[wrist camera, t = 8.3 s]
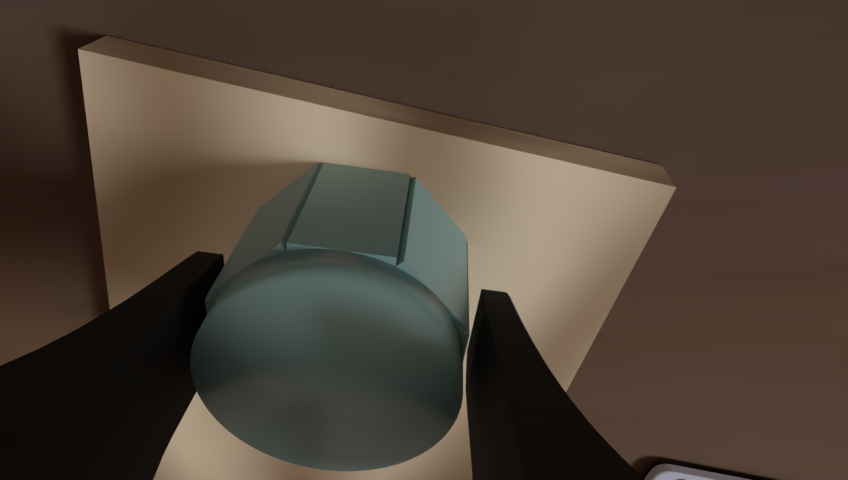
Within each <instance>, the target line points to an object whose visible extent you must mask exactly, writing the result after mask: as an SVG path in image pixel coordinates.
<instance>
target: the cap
mask: <svg viewBox="0 0 848 480" xmlns="http://www.w3.org/2000/svg"><path fill="white" fill-rule="evenodd" d="M409 180H410V174H404V173H397V172H390V171H383V170H376V169H369V168H362V167H354V166H347V165H340V164H333V163H326V162H324V163H323V166H322V168H321V167H320V166H319V165H318V164H317V165H315V166H314V167H313V168H311V169H310V170H309V171H307V172H306V173H305V174H303V175H302V176H301V177H299V178H298V179H297V180H295V181H294V182H293V183H291V184H290V185H289V186H287V187H286V188H285V189H283V190H282V191H281V192H279V193H278V194H276V195H275V196H274V197H272V198H271V199H270V200H268V201H267V202H266V203H264V204H263V205H262V206H260V207H259V208H258V210H257V211H256V213H255V215H254V217H253V218H252V220H251V222H250V223H249V225H248V227H247V228H246V230H245V232H244V233H243V235H242V237H241V238H240V240H239V242H238V243H237V245H236V247H235V249H234V250H233V252H232V254H231V255H230V257H229V259H228V260H227V262H226V264H225V265H224V267H223V269H222V270H221V272H220V274H219V275H218V277H217V279H216V281H215V282H214V284H213V286H212V287H211V289H210V291H209V292H208V295H207V297H206V298H205V305H206V313H207V316H206V318H205V319H204V321H203V323H202V325H201V327H200V328H199V330H198V332H197V334H196V336H195V339H194V342H193V344H192V348H191V355H190V368H191V375H192V379H193V383H194V386H195V388H196V390H197V393H198V395H199V397H200V399H201V400H202V402H203V403H204V405H205V407H206V408H207V409H208V411H209V412H210V413H211V414H212V415H213V417H214V418H215V419H216V420H217V421H218V422H219V423H220V424H221V425H222V426H223V427H224V428H225V429H227V430H228V431H229V432H230V433H232V434H233V435H234V436H235V437H237V438H238V439H240V440H241V441H243V442H245V443H246V444H248V445H249V446H251V447H253V448H255V449H257V450H259V451H261V452H263V453H265V454H267V455H270V456H272V457H274V458H277V459H280V460H283V461H286V462H289V463H292V464H296V465H300V466H304V467H308V468H314V469H320V470H329V471H366V470H374V469H380V468H385V467H389V466H393V465H397V464H400V463H403V462H405V461H408V460H411V459H413V458H415V457H417V456H419V455H421V454H423V453H424V452H426V451H427V450H429V449H430V448H432V447H433V446H435V445H436V444H437V443H438V442H439V441H440V440H441V439H442V438H444V436H445V435H446V434H447V433H448V432H449V430H450V429H451V428H452V426H453V424H454V423H455V421H456V419H457V417H458V415H459V412H460V409H461V406H462V399H463V360H464V356H465V352H466V348H467V343H468V339H469V335H470V330H469V282H468V241H466V235H465V234H464V233H463V232H462V231H461V230H460V228H459V227H458V226H457V225H456V224H455V223H454V221H453V220H452V219H451V218H450V217H449V216H448V214H447V213H446V212H445V211H444V210H443V208H442V207H441V206H440V205H439V204H438V203H437V201H436V200H435V199H434V198H433V197H432V196H431V194H430V193H429V192H428V191H427V190H426V188H425V187H424V186H423V185H422V184H421V183H420V181H419V180H418V179H417V178H415V179H413V180H412V181H410V182H409Z"/></svg>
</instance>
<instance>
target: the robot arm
mask: <svg viewBox="0 0 848 480" xmlns="http://www.w3.org/2000/svg"><path fill="white" fill-rule="evenodd" d="M223 267H224V257H223V254H217V253H209V252H202V251H197V252H195V253H194V254H192V255H191V256H189V257H188V258H186V259H185V260H183V261H182V262H180V263H179V264H178V265H176V266H175V267H173V268H172V269H171V270H169V271H168V272H166V273H165V274H163V275H162V276H161V277H159V278H158V279H156V280H155V281H153V282H152V283H150V284H149V285H147V286H146V287H144V288H143V289H141V290H140V291H139V292H137V293H136V294H134V295H133V296H131V297H130V298H128V299H127V300H125V301H123V302H122V303H120V304H118V305H117V306H115V307H113V308H112V309H110V310H109V311H107V312H105V313H104V314H102V315H100V316H99V317H97V318H96V319H94V320H92V321H91V322H89V323H87V324H85V325H84V326H82V327H80V328H78V329H76V330H75V331H73V332H71V333H69V334H67V335H65V336H63V337H61V338H59V339H57V340H55V341H53V342H52V343H50V344H48V345H46V346H44V347H42V348H39V349H37V350H35V351H33V352H31V353H29V354H26V355H24V356H22V357H20V358H17V359H15V360H13V361H10V362H8V363H6V364H4V365H1V366H0V480H153V479H154V477H155V474H156V472H157V469H158V467H159V464H160V462H161V460H162V457H163V455H164V453H165V451H166V449H167V446H168V444H169V442H170V440H171V438H172V436H173V434H174V433H175V431H176V429H177V427H178V425H179V423H180V421H181V420H182V418H183V416H184V414H185V412H186V410H187V409H188V407H189V405H190V403H191V401H192V399H193V397H194V396H195V394H196V392H197V390H196V388H195V386H194V383H193V379H192V375H191V368H190V355H191V348H192V344H193V342H194V339H195V336H196V334H197V332H198V330H199V328H200V327H201V325H202V323H203V321H204V319H205V318H206V316H207V313H206V305H205V298H206V297H207V295H208V292H209V291H210V289H211V287H212V286H213V284H214V282H215V281H216V279H217V277H218V275H219V274H220V272H221V270H222V269H223ZM466 403H467V415H468V428H469V440H470V452H471V465H472V480H751V479H746V478H740V477H735V476H730V475H725V474H719V473H714V472H709V471H704V470H698V469H693V468H688V467H683V466H678V465H672V464H659V465H657V466H655V467H654V468H652V469H651V471H650V472H649V473H648V475H647V476H646V477H645V479H644V478H643V477H642V476H641V475H640V474H638V473H637V472H636V471H635V470H634V469H633V468H632V467H631V466H630V465H629V464H628V463H627V462H626V461H625V460H624V459H623V458H622V457H621V456H620V455H619V454H618V453H617V452H616V451H615V450H614V449H613V448H612V447H611V446H610V445H609V444H608V443H607V442H606V440H605V439H604V438H603V437H602V436H601V435H600V434H599V433H598V432H597V431H596V430H595V429H594V427H593V426H592V425H591V424H590V423H589V422H588V421H587V419H586V418H585V417H584V416H583V414H582V413H581V412H580V411H579V409H578V408H577V407H576V406H575V404H574V403H573V402H572V400H571V399H570V398H569V396H568V395H567V394H566V392H565V391H564V389H563V388H562V387H561V385H560V384H559V382H558V381H557V379H556V378H555V376H554V375H553V373H552V372H551V370H550V369H549V367H548V366H547V364H546V362H545V361H544V359H543V357H542V356H541V354H540V352H539V351H538V349H537V347H536V346H535V344H534V342H533V341H532V339H531V337H530V335H529V333H528V332H527V330H526V328H525V326H524V324H523V322H522V320H521V318H520V316H519V314H518V312H517V310H516V308H515V306H514V304H513V302H512V300H511V297H510V296H509V295H508V293H507V292H501V291H494V290H486V289H481V293H480V297H479V301H478V306H477V310H476V314H475V319H474V323H473V327H472V331H471V336H470V340H469V344H468V348H467V361H466Z"/></svg>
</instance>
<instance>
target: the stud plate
mask: <svg viewBox="0 0 848 480" xmlns="http://www.w3.org/2000/svg"><path fill="white" fill-rule="evenodd" d="M78 54H79V62H80V70H81V79H82V87H83V95H84V103H85V111H86V119H87V128H88V136H89V144H90V152H91V160H92V168H93V177H94V185H95V193H96V201H97V209H98V217H99V225H100V234H101V242H102V250H103V258H104V266H105V274H106V283H107V291H108V299H109V307H110V309H112V308H113V307H115V306H117V305H118V304H120V303H122V302H123V301H125V300H127V299H128V298H130V297H131V296H133V295H134V294H136V293H137V292H139V291H140V290H141V289H143V288H144V287H146V286H147V285H149V284H150V283H152V282H153V281H155V280H156V279H158V278H159V277H161V276H162V275H163V274H165V273H166V272H168V271H169V270H171V269H172V268H173V267H175V266H176V265H178V264H179V263H180V262H182V261H183V260H185V259H186V258H188V257H189V256H191V255H192V254H194V253H195V252H197V251H202V252H209V253H217V254H223V257H224V265H225V264H226V262H227V260H228V259H229V257H230V255H231V254H232V252H233V250H234V249H235V247H236V245H237V243H238V242H239V240H240V238H241V237H242V235H243V233H244V232H245V230H246V228H247V227H248V225H249V223H250V222H251V220H252V218H253V217H254V215H255V213H256V211H257V210H258V208H259V207H260V206H262V205H263V204H264V203H266V202H267V201H268V200H270V199H271V198H272V197H274V196H275V195H276V194H278V193H279V192H281V191H282V190H283V189H285V188H286V187H287V186H289V185H290V184H291V183H293V182H294V181H295V180H297V179H298V178H299V177H301V176H302V175H303V174H305V173H306V172H307V171H309V170H310V169H311V168H313V167H314V166H315V165H317V164H318V165H319V166H320V167H321V168H322V166H323V163H324V162H326V163H333V164H340V165H347V166H354V167H362V168H369V169H376V170H383V171H390V172H397V173H404V174H410V180H409V182H410V181H412V180H413V179H415V178H417V179H418V180H419V181H420V183H421V184H422V185H423V186H424V187H425V188H426V190H427V191H428V192H429V193H430V194H431V196H432V197H433V198H434V199H435V200H436V201H437V203H438V204H439V205H440V206H441V207H442V208H443V210H444V211H445V212H446V213H447V214H448V216H449V217H450V218H451V219H452V220H453V221H454V223H455V224H456V225H457V226H458V227H459V228H460V230H461V231H462V232H463V233H464V234H465V235H466V241H468V282H469V330H470V335H469V339H468V343H467V348H468V344H469V340H470V336H471V331H472V327H473V323H474V319H475V314H476V310H477V306H478V301H479V297H480V293H481V289H486V290H494V291H501V292H507V293H508V295H509V296H510V297H511V300H512V302H513V304H514V306H515V308H516V310H517V312H518V314H519V316H520V318H521V320H522V322H523V324H524V326H525V328H526V330H527V332H528V333H529V335H530V337H531V339H532V341H533V342H534V344H535V346H536V347H537V349H538V351H539V352H540V354H541V356H542V357H543V359H544V361H545V362H546V364H547V366H548V367H549V369H550V370H551V372H552V373H553V375H554V376H555V378H556V379H557V381H558V382H559V384H560V385H561V387H562V388H563V389H564V391H565V392H566V391H567V389H568V387H569V385H570V384H571V382H572V380H573V378H574V376H575V374H576V372H577V371H578V369H579V367H580V365H581V363H582V361H583V359H584V358H585V356H586V354H587V352H588V350H589V348H590V347H591V345H592V343H593V341H594V339H595V337H596V335H597V334H598V332H599V330H600V328H601V326H602V324H603V322H604V321H605V319H606V317H607V315H608V313H609V311H610V310H611V308H612V306H613V304H614V302H615V300H616V298H617V297H618V295H619V293H620V291H621V289H622V287H623V285H624V284H625V282H626V280H627V278H628V276H629V274H630V273H631V271H632V269H633V267H634V265H635V263H636V261H637V260H638V258H639V256H640V254H641V252H642V250H643V248H644V247H645V245H646V243H647V241H648V239H649V237H650V236H651V234H652V232H653V230H654V228H655V226H656V224H657V223H658V221H659V219H660V217H661V215H662V213H663V211H664V210H665V208H666V206H667V204H668V202H669V200H670V198H671V197H672V195H673V193H674V191H675V189H676V186H675V184H674V183H673V181H672V180H671V179H670V177H669V176H668V174H667V173H666V171H665V170H664V168H663V167H662V165H658V164H654V163H650V162H645V161H641V160H637V159H632V158H628V157H624V156H620V155H615V154H611V153H607V152H603V151H598V150H594V149H590V148H585V147H581V146H577V145H573V144H568V143H564V142H560V141H555V140H551V139H547V138H543V137H538V136H534V135H530V134H526V133H521V132H517V131H513V130H508V129H504V128H500V127H496V126H491V125H487V124H483V123H478V122H474V121H470V120H466V119H461V118H457V117H453V116H449V115H444V114H440V113H436V112H431V111H427V110H423V109H419V108H414V107H410V106H406V105H401V104H397V103H393V102H389V101H384V100H380V99H376V98H372V97H367V96H363V95H359V94H354V93H350V92H346V91H342V90H337V89H333V88H329V87H325V86H320V85H316V84H312V83H307V82H303V81H299V80H295V79H290V78H286V77H282V76H277V75H273V74H269V73H265V72H260V71H256V70H252V69H248V68H243V67H239V66H235V65H230V64H226V63H222V62H218V61H213V60H209V59H205V58H200V57H196V56H192V55H188V54H183V53H179V52H175V51H171V50H166V49H162V48H158V47H153V46H149V45H145V44H141V43H136V42H132V41H128V40H123V39H119V38H115V37H111V36H105V37H102V38H100V39H98V40H96V41H94V42H92V43H90V44H87V45H85V46H83V47H81V48H79V49H78ZM467 348H466V352H465V356H464V360H463V399H462V406H461V409H460V412H459V415H458V417H457V419H456V421H455V423H454V424H453V426H452V428H451V429H450V430H449V432H448V433H447V434H446V435H445V436H444V438H442V439H441V440H440V441H439V442H438V443H437V444H436V445H435V446H433V447H432V448H430V449H429V450H427V451H426V452H424V453H423V454H421V455H419V456H417V457H415V458H413V459H411V460H408V461H405V462H403V463H400V464H397V465H393V466H389V467H385V468H380V469H374V470H366V471H329V470H320V469H314V468H308V467H304V466H300V465H296V464H292V463H289V462H286V461H283V460H280V459H277V458H274V457H272V456H270V455H267V454H265V453H263V452H261V451H259V450H257V449H255V448H253V447H251V446H249V445H248V444H246V443H245V442H243V441H241V440H240V439H238V438H237V437H235V436H234V435H233V434H232V433H230V432H229V431H228V430H227V429H225V428H224V427H223V426H222V425H221V424H220V423H219V422H218V421H217V420H216V419H215V418H214V417H213V415H212V414H211V413H210V412H209V411H208V409H207V408H206V407H205V405H204V403H203V402H202V400H201V399H200V397H199V395H198V393H197V392H196V394H195V396H194V397H193V399H192V401H191V403H190V405H189V407H188V409H187V410H186V412H185V414H184V416H183V418H182V420H181V421H180V423H179V425H178V427H177V429H176V431H175V433H174V434H173V436H172V438H171V440H170V442H169V444H168V446H167V449H166V451H165V453H164V455H163V457H162V460H161V462H160V464H159V467H158V469H157V472H156V474H155V477H154V479H153V480H472V465H471V452H470V440H469V428H468V415H467V403H466V361H467Z"/></svg>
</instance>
